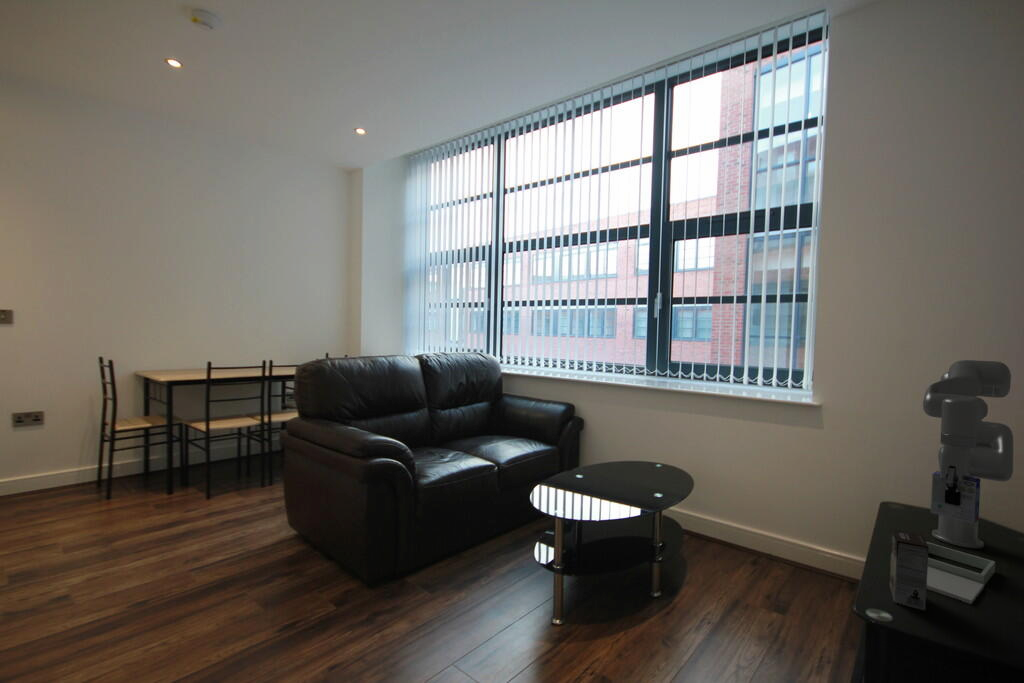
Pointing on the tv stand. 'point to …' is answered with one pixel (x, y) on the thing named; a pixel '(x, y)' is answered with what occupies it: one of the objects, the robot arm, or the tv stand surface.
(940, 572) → the tile
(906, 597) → the coffee box
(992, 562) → the frame
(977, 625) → the tv stand surface
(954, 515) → the ink cartridge box
